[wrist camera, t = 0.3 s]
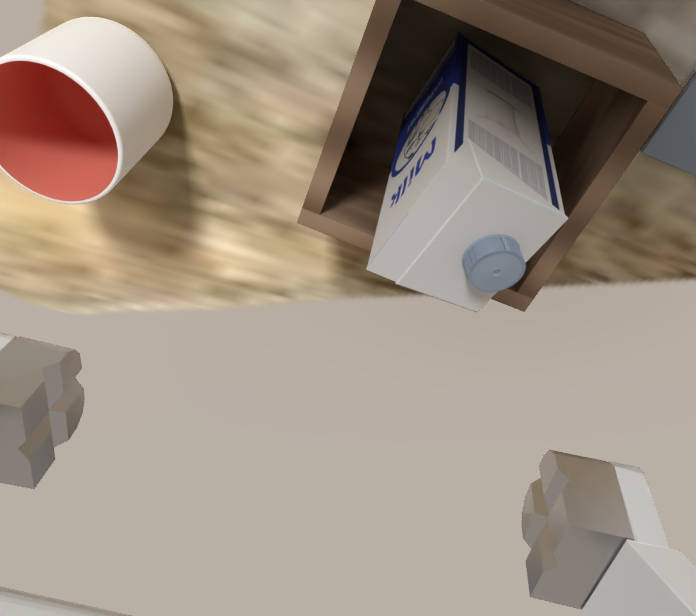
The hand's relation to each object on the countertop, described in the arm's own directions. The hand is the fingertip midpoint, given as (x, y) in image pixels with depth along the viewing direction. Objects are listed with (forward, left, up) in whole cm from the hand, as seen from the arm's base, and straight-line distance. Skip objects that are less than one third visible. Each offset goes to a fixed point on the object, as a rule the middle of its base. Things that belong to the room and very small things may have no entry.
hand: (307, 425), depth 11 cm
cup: (+16, -19, -39) cm, 46 cm away
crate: (+7, +6, -38) cm, 39 cm away
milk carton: (+7, +6, -39) cm, 39 cm away
